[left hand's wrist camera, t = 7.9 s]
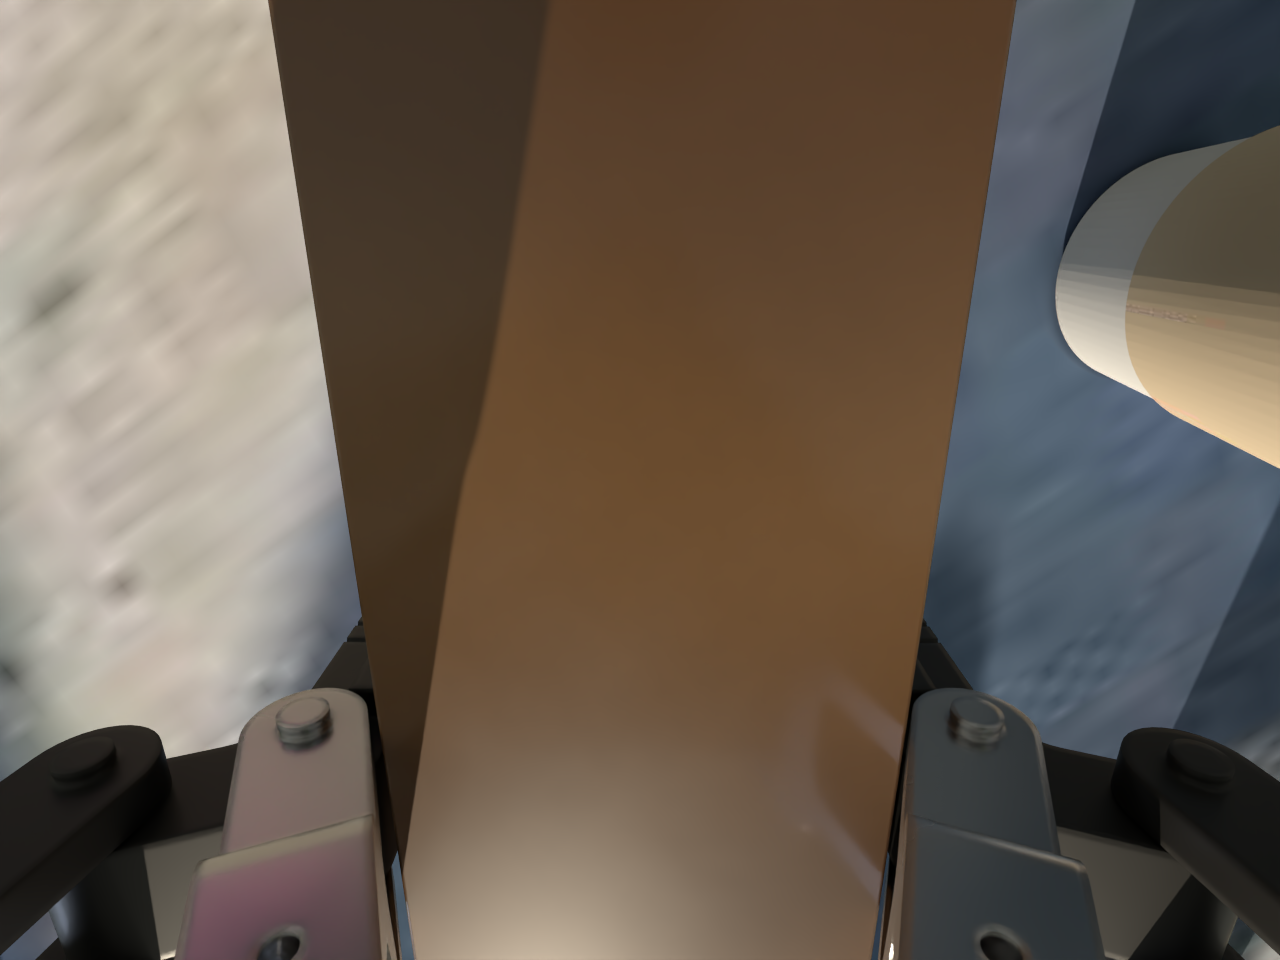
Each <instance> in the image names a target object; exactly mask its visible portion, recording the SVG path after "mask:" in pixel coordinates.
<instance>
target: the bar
mask: <svg viewBox="0 0 1280 960" xmlns="http://www.w3.org/2000/svg"><path fill="white" fill-rule="evenodd" d="M268 2H269V9H270V16H271V22H272V29H273V35H274V42H275V48H276V55H277V62H278V68H279V75H280V81H281V88H282V94H283V101H284V107H285V114H286V121H287V127H288V134H289V140H290V147H291V153H292V160H293V166H294V173H295V180H296V186H297V193H298V199H299V206H300V212H301V219H302V226H303V232H304V239H305V245H306V252H307V258H308V265H309V271H310V278H311V285H312V291H313V298H314V304H315V311H316V317H317V324H318V330H319V337H320V344H321V350H322V357H323V363H324V370H325V376H326V383H327V390H328V396H329V403H330V409H331V416H332V422H333V429H334V435H335V442H336V449H337V455H338V462H339V468H340V475H341V481H342V488H343V494H344V501H345V508H346V514H347V521H348V527H349V534H350V540H351V547H352V554H353V560H354V567H355V573H356V580H357V586H358V593H359V599H360V606H361V613H362V619H363V626H364V632H365V639H366V645H367V652H368V659H369V665H370V672H371V678H372V685H373V691H374V698H375V704H376V711H377V718H378V724H379V731H380V737H381V744H382V750H383V757H384V763H385V770H386V777H387V783H388V790H389V796H390V803H391V809H392V816H393V823H394V829H395V836H396V842H397V849H398V855H399V862H400V868H401V875H402V882H403V888H404V895H405V901H406V908H407V914H408V921H409V927H410V934H411V941H412V947H413V954H414V960H871V957H872V950H873V944H874V937H875V930H876V924H877V917H878V911H879V904H880V897H881V891H882V884H883V878H884V871H885V864H886V858H887V851H888V845H889V838H890V831H891V825H892V818H893V812H894V805H895V799H896V792H897V785H898V779H899V772H900V766H901V759H902V752H903V746H904V739H905V733H906V726H907V719H908V713H909V706H910V700H911V693H912V686H913V680H914V673H915V667H916V660H917V653H918V647H919V640H920V634H921V627H922V620H923V614H924V607H925V601H926V594H927V587H928V581H929V574H930V568H931V561H932V554H933V548H934V541H935V535H936V528H937V521H938V515H939V508H940V502H941V495H942V488H943V482H944V475H945V469H946V462H947V455H948V449H949V442H950V436H951V429H952V422H953V416H954V409H955V403H956V396H957V389H958V383H959V376H960V370H961V363H962V356H963V350H964V343H965V337H966V330H967V324H968V317H969V310H970V304H971V297H972V291H973V284H974V277H975V271H976V264H977V258H978V251H979V244H980V238H981V231H982V225H983V218H984V211H985V205H986V198H987V192H988V185H989V178H990V172H991V165H992V159H993V152H994V145H995V139H996V132H997V126H998V119H999V112H1000V106H1001V99H1002V93H1003V86H1004V79H1005V73H1006V66H1007V60H1008V53H1009V46H1010V40H1011V33H1012V27H1013V20H1014V13H1015V7H1016V0H268Z"/></svg>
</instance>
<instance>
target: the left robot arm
mask: <svg viewBox="0 0 1280 960" xmlns="http://www.w3.org/2000/svg"><path fill="white" fill-rule="evenodd" d="M397 850H398V849H397V842H396V836H395V829H394V823H393V816H392V809H391V803H390V796H389V790H388V783H387V777H386V770H385V763H384V757H383V750H382V744H381V737H380V731H379V724H378V718H377V711H376V704H375V698H374V691H373V685H372V678H371V672H370V665H369V659H368V652H367V645H366V639H365V632H364V626H363V619H362V617H361V618H360V620H359V621H358V626H355V627H354V629H353V630H352V632H351V633H350V634H349V636H348V637H347V642H344V643H343V645H342V646H341V647H340V649H339V650H338V652H337V653H336V655H335V656H334V658H333V659H332V661H331V662H330V663H329V665H328V666H327V668H326V669H325V671H324V672H323V674H322V675H321V676H320V678H319V679H318V681H317V682H316V684H315V685H314V687H313V688H312V689H311V690H306V691H302V692H298V693H295V694H292V695H289V696H286V697H284V698H281V699H279V700H277V701H275V702H273V703H271V704H270V705H268V706H266V707H265V708H263V709H262V710H260V711H259V712H258V713H257V714H255V715H254V716H253V717H252V718H251V719H250V720H249V721H248V722H247V724H246V725H245V726H244V728H243V730H242V731H241V734H240V737H239V741H238V743H237V744H233V745H229V746H225V747H221V748H216V749H211V750H206V751H202V752H197V753H192V754H187V755H183V756H178V757H173V758H168V759H166V756H165V752H164V749H163V745H162V742H161V739H160V737H159V735H158V734H157V733H156V732H155V731H153V730H151V729H149V728H146V727H142V726H134V725H122V726H113V727H107V728H102V729H97V730H94V731H90V732H87V733H84V734H81V735H78V736H75V737H73V738H70V739H68V740H66V741H64V742H61V743H59V744H57V745H55V746H53V747H52V748H50V749H48V750H46V751H44V752H43V753H41V754H40V755H38V756H37V757H35V758H34V759H32V760H31V761H29V762H28V763H26V764H25V765H24V766H22V767H21V768H19V769H18V770H17V771H15V772H14V773H12V774H11V775H9V776H8V777H7V778H5V779H4V780H2V781H1V782H0V955H1V954H2V953H3V952H4V951H5V950H7V949H8V948H9V947H10V946H11V945H12V944H13V943H14V942H15V941H16V940H17V939H18V938H20V937H21V936H22V935H23V934H24V933H25V932H26V931H27V930H28V929H29V928H30V927H31V926H33V925H34V924H35V923H36V922H37V921H38V920H39V919H40V918H41V917H42V916H43V915H44V914H46V913H47V912H48V911H49V914H50V916H51V919H52V922H53V924H54V927H55V929H56V932H57V935H58V938H57V939H56V940H55V941H54V942H53V943H52V944H51V945H50V946H49V947H48V948H47V949H46V950H45V951H44V952H43V953H42V954H41V955H40V956H39V957H38V958H37V959H36V960H402V954H401V944H400V934H399V923H398V913H397V903H396V892H395V882H394V876H393V869H392V864H393V861H394V858H395V856H396V853H397ZM888 853H889V863H888V869H887V876H886V882H885V892H884V903H883V913H882V923H881V934H880V944H879V954H878V960H1244V959H1243V958H1242V957H1241V956H1240V955H1239V954H1238V953H1237V952H1236V951H1235V950H1234V949H1233V948H1232V947H1231V946H1230V945H1229V944H1228V941H1229V939H1230V936H1231V933H1232V931H1233V928H1234V926H1235V923H1236V921H1237V918H1238V917H1239V918H1240V919H1241V920H1242V921H1243V922H1244V923H1245V924H1246V925H1247V926H1249V927H1250V928H1251V929H1252V930H1253V931H1254V932H1255V933H1256V934H1257V935H1258V936H1259V937H1260V938H1262V939H1263V940H1264V941H1265V942H1266V943H1267V944H1268V945H1269V946H1270V947H1271V948H1272V949H1273V950H1275V951H1276V952H1277V953H1278V954H1279V955H1280V782H1279V781H1278V780H1276V779H1275V778H1273V777H1272V776H1271V775H1269V774H1268V773H1266V772H1265V771H1263V770H1262V769H1261V768H1259V767H1258V766H1256V765H1255V764H1254V763H1252V762H1251V761H1249V760H1248V759H1246V758H1245V757H1243V756H1242V755H1240V754H1238V753H1237V752H1235V751H1233V750H1231V749H1229V748H1228V747H1226V746H1223V745H1221V744H1219V743H1217V742H1215V741H1212V740H1210V739H1207V738H1204V737H1202V736H1199V735H1195V734H1192V733H1189V732H1185V731H1180V730H1176V729H1169V728H1157V727H1150V728H1141V729H1137V730H1134V731H1132V732H1130V733H1128V734H1127V735H1126V736H1125V737H1124V739H1123V741H1122V743H1121V747H1120V750H1119V754H1118V757H1117V760H1116V759H1111V758H1106V757H1102V756H1097V755H1092V754H1087V753H1083V752H1078V751H1073V750H1068V749H1064V748H1060V747H1056V746H1052V745H1048V744H1045V743H1042V741H1041V737H1040V734H1039V731H1038V730H1037V728H1036V726H1035V725H1034V724H1033V722H1032V721H1031V720H1030V719H1029V718H1028V717H1027V716H1026V715H1025V714H1023V713H1022V712H1021V711H1020V710H1018V709H1017V708H1015V707H1014V706H1012V705H1010V704H1009V703H1007V702H1005V701H1003V700H1001V699H999V698H996V697H994V696H991V695H988V694H985V693H982V692H978V691H974V690H973V689H972V687H971V686H970V684H969V683H968V681H967V680H966V679H965V677H964V676H963V674H962V673H961V671H960V670H959V669H958V667H957V666H956V664H955V663H954V661H953V660H952V659H951V657H950V656H949V654H948V653H947V651H946V650H945V649H944V647H943V646H942V644H941V643H938V639H937V637H936V636H935V634H934V633H933V631H932V630H931V629H930V627H927V625H926V621H925V620H924V619H923V620H922V627H921V634H920V640H919V647H918V653H917V660H916V667H915V673H914V680H913V686H912V693H911V700H910V706H909V713H908V719H907V726H906V733H905V739H904V746H903V752H902V759H901V766H900V772H899V779H898V785H897V792H896V799H895V805H894V812H893V818H892V825H891V831H890V838H889V845H888Z"/></svg>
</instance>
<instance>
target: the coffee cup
mask: <svg viewBox="0 0 1280 960" xmlns="http://www.w3.org/2000/svg"><path fill="white" fill-rule="evenodd" d="M1056 311H1057V317H1058V321H1059V325H1060V328H1061V331H1062V333H1063V335H1064V337H1065V339H1066V341H1067V343H1068V345H1069V346H1070V348H1071V349H1072V350H1073V352H1074V353H1075V354H1076V355H1077V356H1078V357H1079V358H1080V359H1081V360H1082V361H1083V362H1084V363H1085V364H1087V365H1088V366H1089V367H1091V368H1093V369H1094V370H1096V371H1098V372H1100V373H1102V374H1104V375H1106V376H1108V377H1110V378H1112V379H1114V380H1116V381H1118V382H1120V383H1122V384H1124V385H1126V386H1128V387H1130V388H1132V389H1134V390H1137V391H1139V392H1141V393H1143V394H1145V395H1147V396H1149V397H1151V398H1153V399H1154V400H1155V401H1156V402H1157V403H1158V404H1159V405H1161V406H1162V407H1163V408H1164V409H1166V410H1167V411H1169V412H1170V413H1171V414H1173V415H1175V416H1177V417H1179V418H1180V419H1182V420H1184V421H1186V422H1188V423H1190V424H1192V425H1194V426H1196V427H1198V428H1200V429H1202V430H1204V431H1206V432H1208V433H1210V434H1212V435H1214V436H1216V437H1218V438H1220V439H1222V440H1224V441H1226V442H1228V443H1230V444H1232V445H1234V446H1236V447H1238V448H1240V449H1242V450H1244V451H1246V452H1248V453H1250V454H1252V455H1254V456H1256V457H1258V458H1260V459H1262V460H1264V461H1266V462H1268V463H1270V464H1272V465H1274V466H1276V467H1278V468H1280V126H1277V127H1274V128H1271V129H1269V130H1266V131H1264V132H1262V133H1259V134H1257V135H1255V136H1253V137H1249V138H1244V139H1240V140H1235V141H1231V142H1226V143H1222V144H1217V145H1213V146H1208V147H1204V148H1199V149H1195V150H1190V151H1186V152H1181V153H1177V154H1172V155H1168V156H1165V157H1162V158H1159V159H1156V160H1154V161H1151V162H1149V163H1147V164H1145V165H1143V166H1141V167H1139V168H1137V169H1135V170H1133V171H1132V172H1130V173H1129V174H1127V175H1125V176H1124V177H1123V178H1121V179H1120V180H1118V181H1117V182H1116V183H1115V184H1113V185H1112V186H1111V187H1110V188H1109V189H1108V190H1106V191H1105V192H1104V193H1103V194H1102V195H1101V196H1100V197H1099V198H1098V199H1097V200H1096V202H1095V203H1094V204H1093V205H1092V206H1091V207H1090V209H1089V210H1088V211H1087V212H1086V214H1085V215H1084V216H1083V218H1082V219H1081V221H1080V222H1079V224H1078V225H1077V227H1076V229H1075V230H1074V232H1073V234H1072V236H1071V238H1070V240H1069V242H1068V244H1067V246H1066V249H1065V251H1064V254H1063V257H1062V260H1061V263H1060V267H1059V271H1058V276H1057V282H1056Z"/></svg>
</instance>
